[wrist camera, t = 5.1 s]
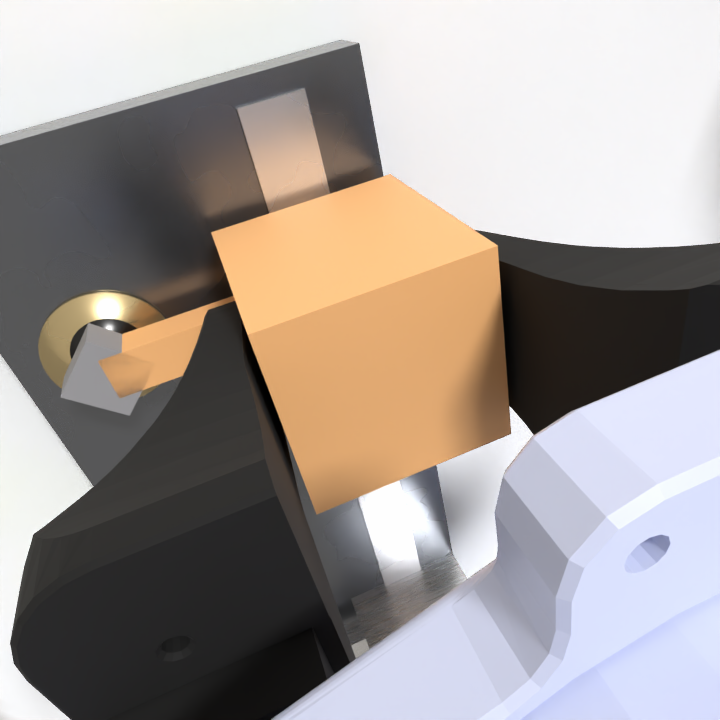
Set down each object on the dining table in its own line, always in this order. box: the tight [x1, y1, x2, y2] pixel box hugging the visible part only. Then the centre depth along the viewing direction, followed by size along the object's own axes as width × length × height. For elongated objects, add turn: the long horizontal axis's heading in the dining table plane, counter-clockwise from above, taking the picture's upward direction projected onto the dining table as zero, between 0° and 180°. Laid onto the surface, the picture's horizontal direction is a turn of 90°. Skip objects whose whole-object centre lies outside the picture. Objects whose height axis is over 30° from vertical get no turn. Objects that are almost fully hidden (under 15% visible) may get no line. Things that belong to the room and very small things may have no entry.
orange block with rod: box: [61, 174, 511, 514], centre depth 11 cm, size 4×8×4 cm, turn 103°
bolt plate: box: [0, 40, 467, 658], centre depth 15 cm, size 21×9×6 cm, turn 13°
